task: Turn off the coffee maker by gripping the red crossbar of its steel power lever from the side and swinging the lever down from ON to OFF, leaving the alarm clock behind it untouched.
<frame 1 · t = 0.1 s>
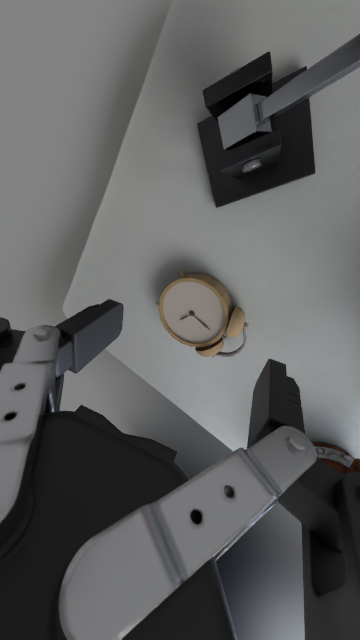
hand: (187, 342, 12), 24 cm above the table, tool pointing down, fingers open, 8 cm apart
alarm clock: (207, 312, 38), on the table
power lever: (320, 76, 14), point 13 cm above the table, hinge at 25.0°
switch bracket: (255, 149, 27), on the table
mug: (328, 457, 43), on the table
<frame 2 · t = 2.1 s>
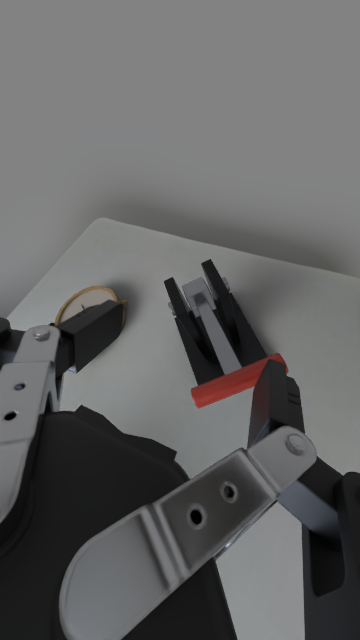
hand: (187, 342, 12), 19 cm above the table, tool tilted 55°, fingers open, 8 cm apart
alarm clock: (92, 331, 40), on the table
power lever: (212, 325, 18), point 13 cm above the table, hinge at 24.3°
switch bracket: (218, 340, 32), on the table
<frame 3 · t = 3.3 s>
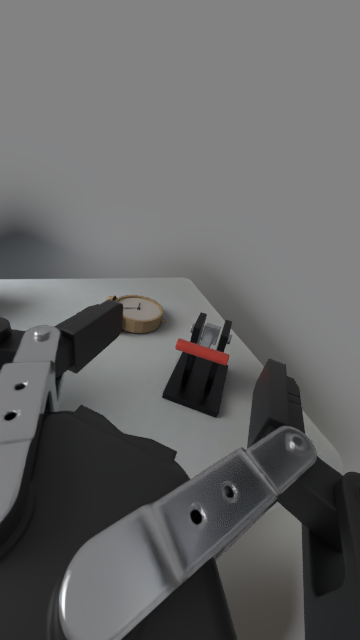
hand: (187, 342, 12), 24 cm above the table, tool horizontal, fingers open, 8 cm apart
alarm clock: (129, 321, 53), on the table
power lever: (207, 340, 30), point 13 cm above the table, hinge at 24.3°
switch bracket: (197, 382, 41), on the table
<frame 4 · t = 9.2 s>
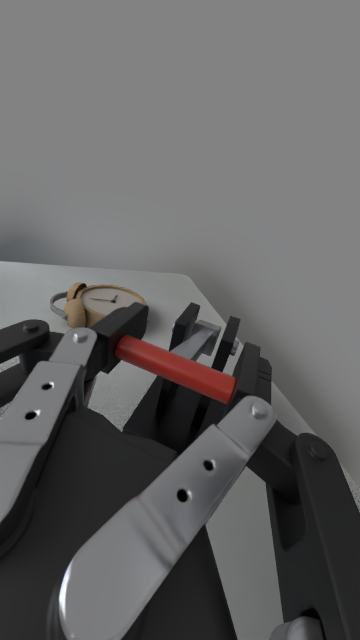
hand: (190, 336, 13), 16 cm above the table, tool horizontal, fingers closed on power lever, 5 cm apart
alarm clock: (101, 318, 40), on the table
power lever: (195, 346, 16), point 13 cm above the table, hinge at 24.3°, touching gripper
switch bracket: (181, 412, 27), on the table
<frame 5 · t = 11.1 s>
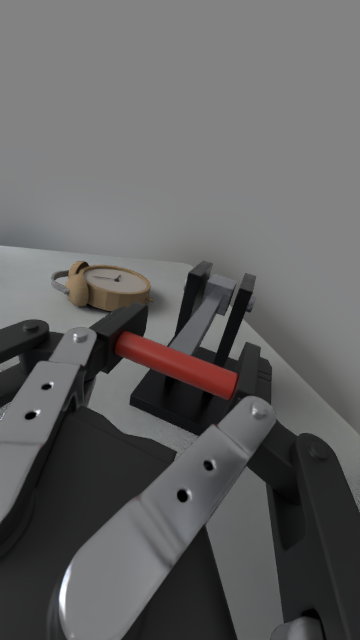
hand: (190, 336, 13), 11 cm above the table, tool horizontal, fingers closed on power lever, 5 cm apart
alarm clock: (103, 298, 39), on the table
power lever: (205, 315, 16), point 11 cm above the table, hinge at 2.5°, touching gripper
switch bracket: (191, 384, 25), on the table
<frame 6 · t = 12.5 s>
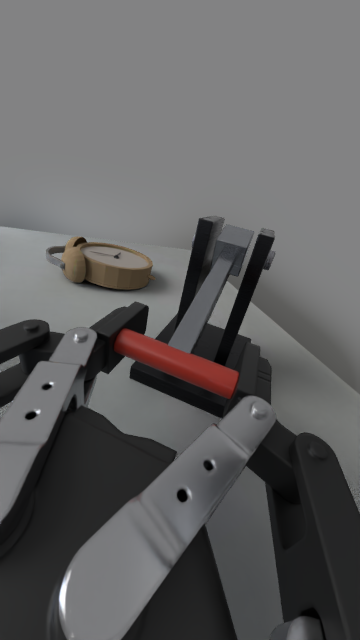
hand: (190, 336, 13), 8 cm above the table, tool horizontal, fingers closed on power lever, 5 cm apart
alarm clock: (102, 276, 36), on the table
power lever: (212, 287, 14), point 10 cm above the table, hinge at -17.1°, touching gripper
switch bracket: (197, 360, 23), on the table
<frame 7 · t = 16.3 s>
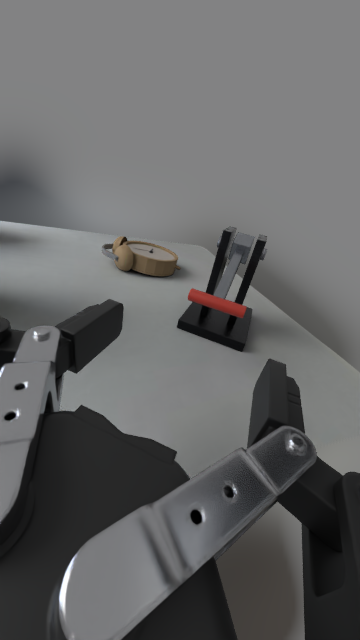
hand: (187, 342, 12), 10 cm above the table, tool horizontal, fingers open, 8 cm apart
alarm clock: (139, 266, 48), on the table
power lever: (231, 269, 26), point 9 cm above the table, hinge at -18.2°
switch bracket: (217, 321, 35), on the table
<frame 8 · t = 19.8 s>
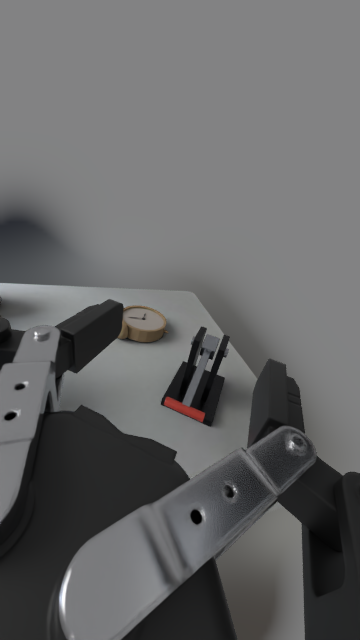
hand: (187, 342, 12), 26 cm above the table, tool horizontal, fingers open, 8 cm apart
alarm clock: (134, 330, 56), on the table
power lever: (199, 372, 34), point 9 cm above the table, hinge at -18.2°
switch bracket: (194, 392, 43), on the table
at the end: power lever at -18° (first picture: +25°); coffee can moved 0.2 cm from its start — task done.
